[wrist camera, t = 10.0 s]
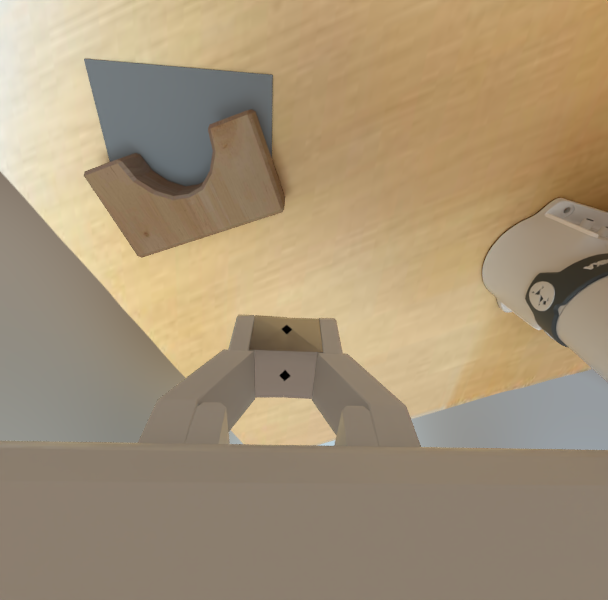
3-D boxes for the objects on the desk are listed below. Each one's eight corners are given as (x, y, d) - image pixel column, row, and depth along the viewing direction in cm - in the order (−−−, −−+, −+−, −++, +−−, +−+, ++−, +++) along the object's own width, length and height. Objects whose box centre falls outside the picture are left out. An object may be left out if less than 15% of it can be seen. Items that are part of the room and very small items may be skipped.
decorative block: (254, 106, 36) (104, 163, 39) (249, 109, 31) (79, 173, 34) (285, 198, 42) (154, 242, 45) (285, 212, 37) (138, 260, 40)
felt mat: (272, 75, 34) (272, 74, 34) (271, 201, 42) (271, 202, 42) (85, 59, 33) (84, 58, 33) (118, 192, 41) (117, 193, 41)
